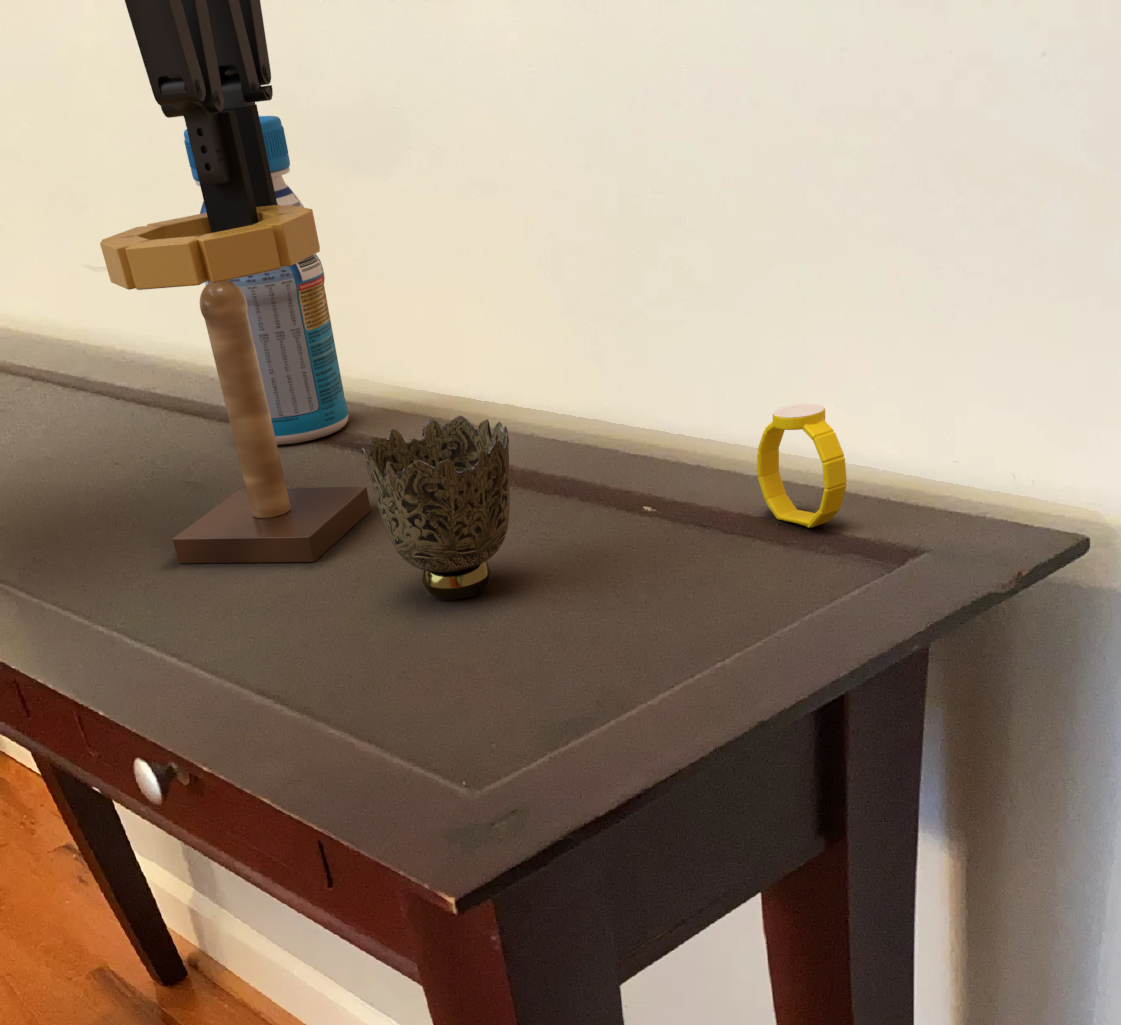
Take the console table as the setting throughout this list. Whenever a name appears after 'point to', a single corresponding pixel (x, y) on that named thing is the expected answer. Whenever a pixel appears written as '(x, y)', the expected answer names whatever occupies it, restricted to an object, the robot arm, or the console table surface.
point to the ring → (209, 249)
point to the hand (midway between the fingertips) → (250, 243)
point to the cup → (444, 501)
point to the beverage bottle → (291, 325)
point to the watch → (829, 453)
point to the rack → (259, 464)
